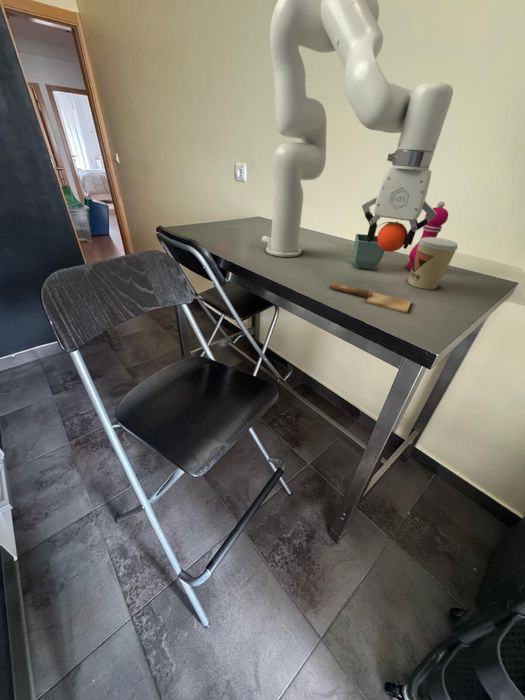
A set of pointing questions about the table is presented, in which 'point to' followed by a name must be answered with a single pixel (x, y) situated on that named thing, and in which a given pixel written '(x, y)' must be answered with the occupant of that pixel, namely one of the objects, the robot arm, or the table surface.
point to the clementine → (392, 236)
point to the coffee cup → (431, 262)
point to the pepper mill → (431, 229)
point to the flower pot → (367, 252)
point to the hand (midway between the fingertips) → (387, 243)
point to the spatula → (374, 297)
